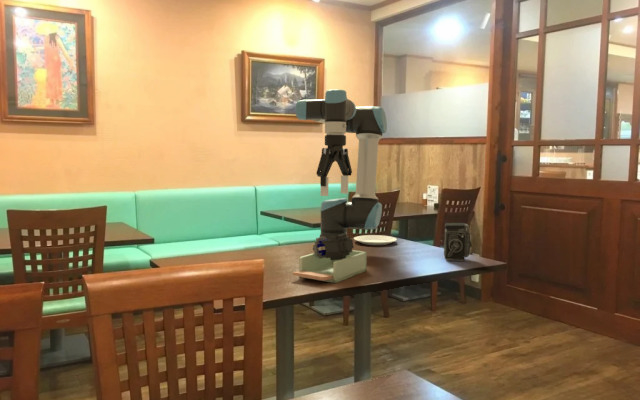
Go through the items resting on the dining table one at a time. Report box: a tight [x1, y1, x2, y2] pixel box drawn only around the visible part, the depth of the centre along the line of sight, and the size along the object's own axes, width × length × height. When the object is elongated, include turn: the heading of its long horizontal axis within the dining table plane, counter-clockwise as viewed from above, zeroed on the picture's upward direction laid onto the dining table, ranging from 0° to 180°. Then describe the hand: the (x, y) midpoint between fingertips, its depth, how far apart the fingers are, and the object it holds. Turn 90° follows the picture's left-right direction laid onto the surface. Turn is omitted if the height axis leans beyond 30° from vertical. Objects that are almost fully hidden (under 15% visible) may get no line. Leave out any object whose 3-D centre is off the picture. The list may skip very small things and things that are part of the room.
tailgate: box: [292, 270, 333, 281], centre depth 172 cm, size 12×1×7 cm
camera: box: [443, 222, 473, 262], centre depth 208 cm, size 10×10×15 cm
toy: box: [312, 234, 354, 260], centre depth 182 cm, size 9×9×15 cm
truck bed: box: [298, 249, 368, 284], centre depth 183 cm, size 15×22×7 cm
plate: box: [353, 234, 398, 246], centre depth 247 cm, size 21×21×2 cm
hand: (334, 194), depth 181 cm, fingers open, 13 cm apart
